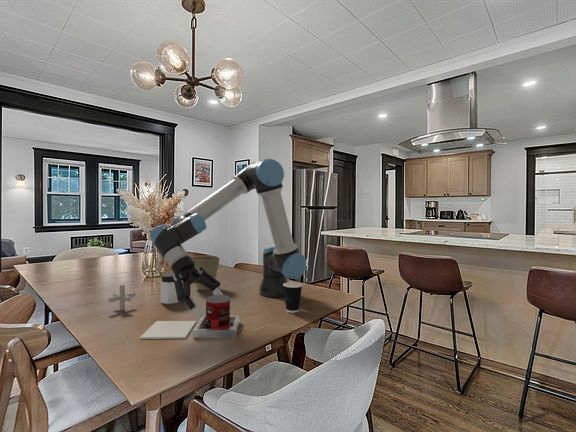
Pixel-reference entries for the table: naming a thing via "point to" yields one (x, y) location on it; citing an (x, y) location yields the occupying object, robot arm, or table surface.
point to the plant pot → (206, 267)
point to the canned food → (218, 312)
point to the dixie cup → (292, 296)
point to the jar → (168, 289)
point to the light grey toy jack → (122, 297)
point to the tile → (169, 330)
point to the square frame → (216, 333)
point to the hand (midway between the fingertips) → (213, 309)
